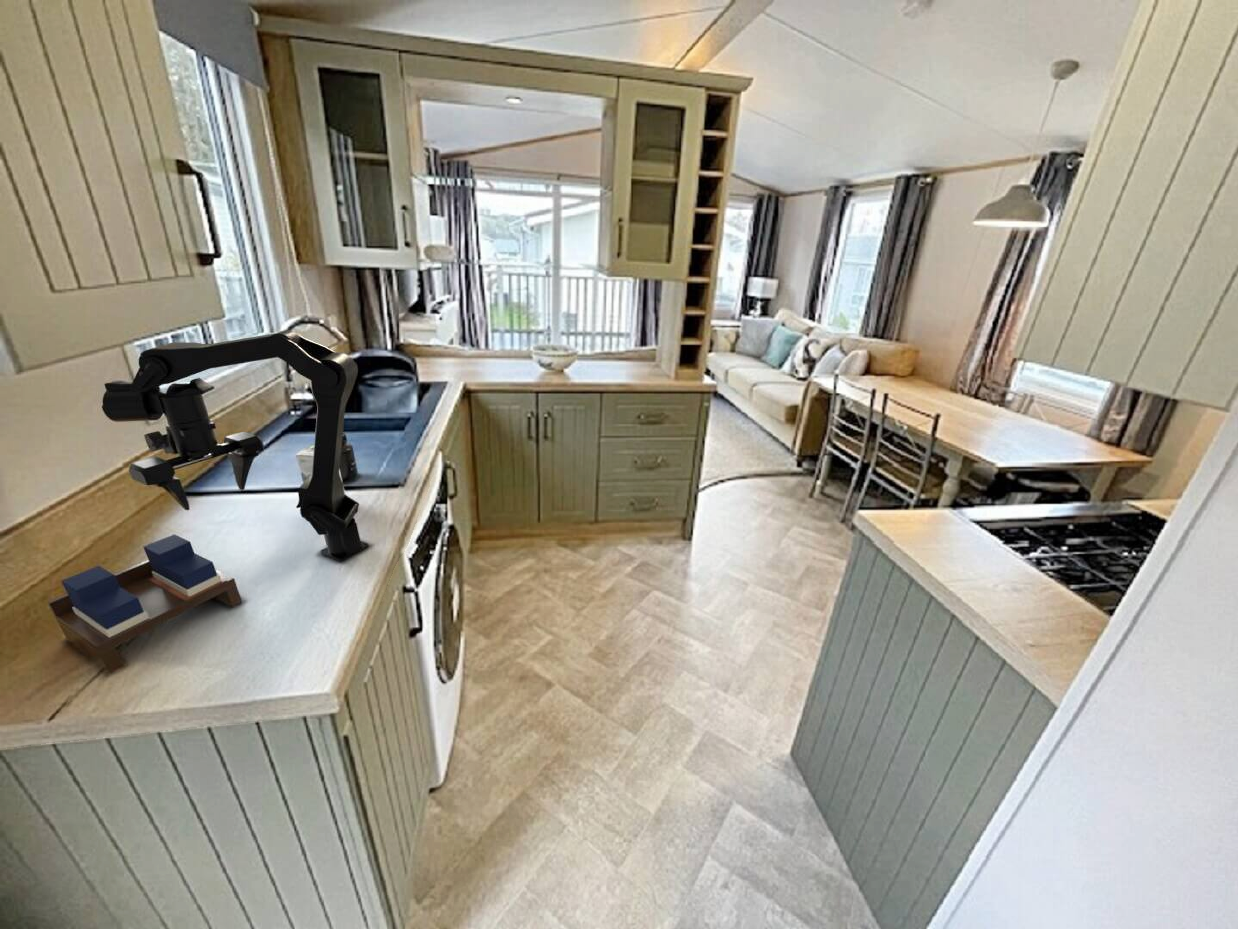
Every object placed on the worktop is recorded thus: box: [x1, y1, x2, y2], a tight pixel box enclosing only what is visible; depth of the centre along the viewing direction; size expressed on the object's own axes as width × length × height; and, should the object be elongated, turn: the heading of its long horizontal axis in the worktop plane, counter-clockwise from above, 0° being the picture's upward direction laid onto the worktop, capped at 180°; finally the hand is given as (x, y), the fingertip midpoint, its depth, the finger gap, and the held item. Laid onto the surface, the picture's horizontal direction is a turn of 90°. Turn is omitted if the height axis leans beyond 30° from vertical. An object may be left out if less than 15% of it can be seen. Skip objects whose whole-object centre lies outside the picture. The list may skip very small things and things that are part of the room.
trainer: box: [142, 533, 222, 597], centre depth 85 cm, size 11×5×6 cm, turn 62°
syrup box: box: [295, 445, 347, 495], centre depth 117 cm, size 6×6×14 cm
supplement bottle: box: [339, 432, 359, 484], centre depth 132 cm, size 7×7×12 cm
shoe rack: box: [46, 559, 243, 674], centre depth 83 cm, size 14×18×7 cm
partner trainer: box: [60, 565, 149, 638], centre depth 77 cm, size 11×5×6 cm, turn 62°
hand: (215, 499), depth 96 cm, fingers open, 9 cm apart
